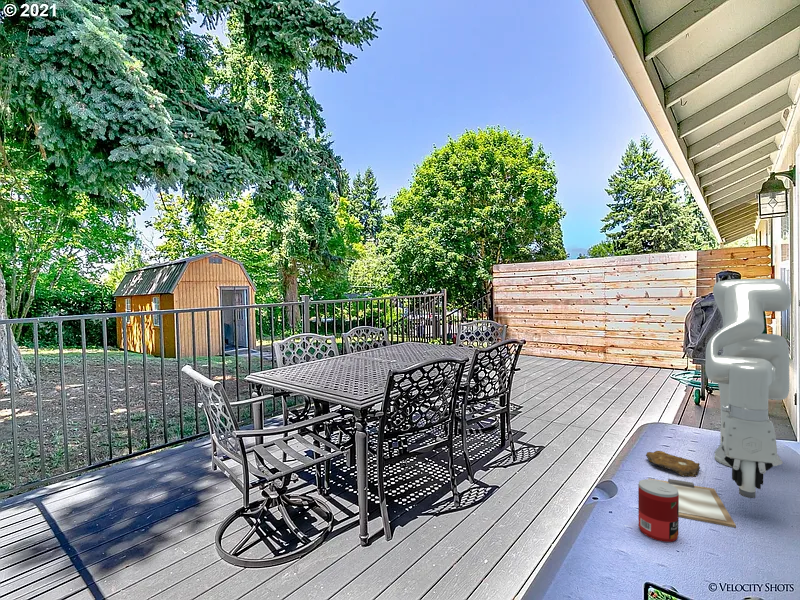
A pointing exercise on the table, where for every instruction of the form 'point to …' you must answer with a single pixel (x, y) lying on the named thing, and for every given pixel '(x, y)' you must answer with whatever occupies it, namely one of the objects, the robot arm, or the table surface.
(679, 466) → the decorative rock
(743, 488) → the marker
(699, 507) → the clipboard
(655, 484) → the canned food
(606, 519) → the table surface
